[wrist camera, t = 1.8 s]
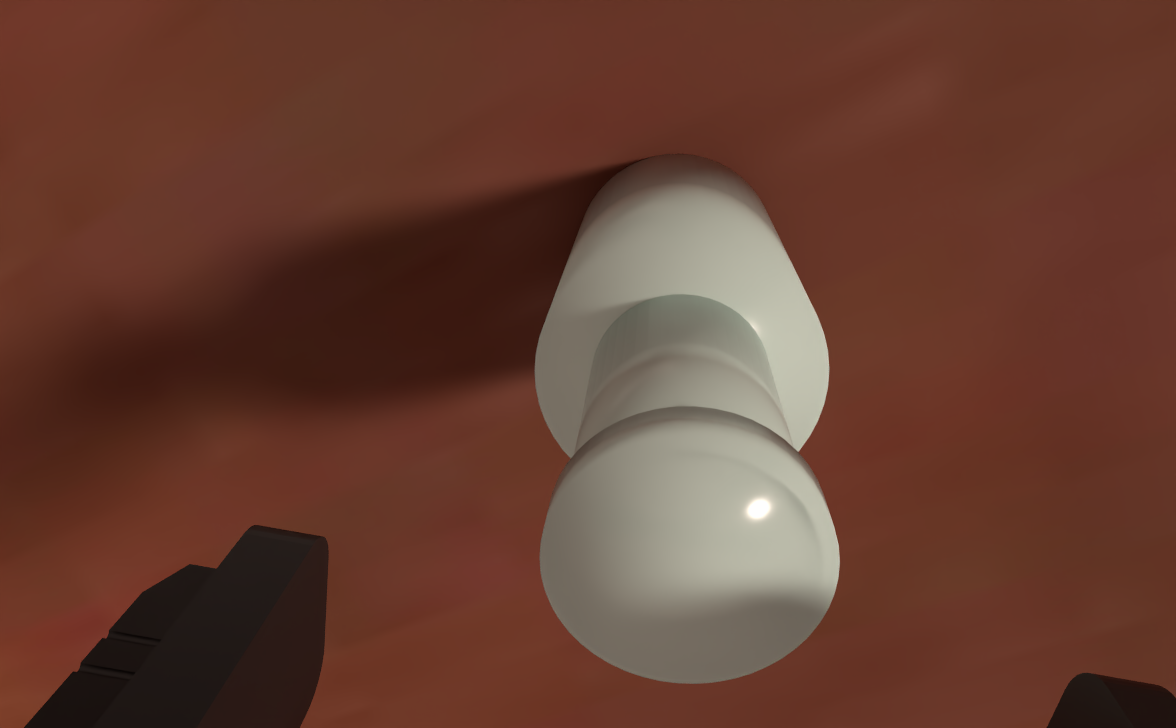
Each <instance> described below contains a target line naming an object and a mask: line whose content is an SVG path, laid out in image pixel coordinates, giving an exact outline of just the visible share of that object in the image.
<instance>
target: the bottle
mask: <svg viewBox="0 0 1176 728" xmlns="http://www.w3.org/2000/svg"><path fill="white" fill-rule="evenodd" d="M828 379H829V359H828V349H827V345H826V340H825V336H824V332H823V330H822V327H821V324H820V322H819V319H818V317H817V315H816V312H815V310H814V308H813V306H812V304H811V302H810V300H809V298H808V296H807V294H806V292H805V290H804V288H803V286H802V284H801V282H800V279H799V277H798V275H797V273H796V271H795V269H794V267H793V265H792V263H791V261H790V259H789V257H788V255H787V253H786V251H785V249H784V247H783V244H782V242H781V240H780V238H779V236H778V234H777V232H776V230H775V228H774V226H773V224H772V222H771V220H770V218H769V216H768V214H767V211H766V209H765V207H764V206H763V204H762V202H761V200H760V199H759V197H758V195H757V194H756V193H755V192H754V190H753V189H752V188H751V186H750V185H749V184H748V183H747V182H746V181H745V180H744V179H743V178H742V177H740V176H739V175H738V174H736V173H735V172H734V171H732V170H731V169H729V168H727V167H726V166H724V165H722V164H720V163H718V162H715V161H713V160H710V159H708V158H704V157H700V156H695V155H688V154H666V155H660V156H654V157H650V158H647V159H644V160H641V161H639V162H636V163H634V164H632V165H630V166H628V167H626V168H625V169H623V170H622V171H620V172H618V173H617V174H616V175H615V176H613V177H612V178H611V179H610V180H609V181H607V183H606V184H605V185H604V186H603V187H602V188H601V189H600V190H599V191H598V193H597V194H596V196H595V197H594V198H593V200H592V201H591V203H590V205H589V207H588V209H587V211H586V213H585V215H584V218H583V221H582V223H581V226H580V229H579V231H578V234H577V237H576V240H575V242H574V245H573V248H572V250H571V253H570V256H569V258H568V261H567V264H566V266H565V269H564V272H563V274H562V277H561V280H560V283H559V285H558V288H557V291H556V293H555V296H554V299H553V301H552V304H551V307H550V309H549V312H548V315H547V317H546V320H545V323H544V326H543V328H542V331H541V334H540V336H539V341H538V346H537V350H536V358H535V383H536V391H537V396H538V400H539V405H540V408H541V410H542V413H543V416H544V419H545V421H546V423H547V425H548V427H549V429H550V431H551V433H552V435H553V436H554V438H555V439H556V441H557V442H558V443H559V445H560V446H561V448H562V449H563V450H564V452H565V453H566V454H567V455H568V456H569V457H570V458H571V459H570V460H569V462H568V463H567V464H566V466H565V467H564V469H563V471H562V472H561V474H560V476H559V477H558V480H557V482H556V485H555V487H554V490H553V492H552V496H551V500H550V504H549V508H548V513H547V517H546V521H545V526H544V530H543V535H542V539H541V547H540V569H541V576H542V581H543V585H544V589H545V592H546V594H547V597H548V599H549V602H550V604H551V606H552V608H553V609H554V611H555V613H556V615H557V616H558V618H559V620H560V621H561V622H562V623H563V625H564V626H565V627H566V629H567V630H568V631H569V632H570V633H571V634H572V635H573V636H574V637H575V638H576V639H577V640H578V641H579V642H580V643H581V644H582V645H583V646H584V647H586V648H587V649H588V650H590V651H591V652H592V653H593V654H595V655H596V656H598V657H600V658H601V659H603V660H605V661H606V662H608V663H610V664H612V665H614V666H616V667H618V668H620V669H622V670H624V671H627V672H630V673H633V674H636V675H639V676H642V677H646V678H650V679H654V680H658V681H665V682H673V683H693V684H698V683H711V682H719V681H724V680H730V679H734V678H738V677H741V676H744V675H748V674H751V673H753V672H756V671H758V670H760V669H763V668H765V667H767V666H769V665H771V664H773V663H775V662H776V661H778V660H780V659H782V658H783V657H785V656H786V655H787V654H789V653H790V652H792V651H793V650H794V649H796V648H797V647H798V646H799V645H800V644H801V643H802V642H803V641H804V640H805V639H806V638H808V637H809V635H810V634H811V633H812V632H813V631H814V629H815V628H816V627H817V626H818V624H819V623H820V622H821V620H822V618H823V617H824V615H825V613H826V612H827V610H828V608H829V606H830V603H831V601H832V598H833V596H834V594H835V590H836V586H837V581H838V577H839V565H840V558H839V545H838V541H837V537H836V532H835V528H834V525H833V522H832V519H831V516H830V513H829V510H828V507H827V504H826V500H825V497H824V494H823V492H822V489H821V487H820V485H819V482H818V480H817V478H816V476H815V475H814V473H813V471H812V470H811V468H810V466H809V465H808V463H807V462H806V461H805V460H804V459H803V457H802V456H801V455H800V454H799V453H798V451H799V450H800V449H801V447H802V446H803V445H804V443H805V442H806V440H807V439H808V438H809V436H810V435H811V433H812V431H813V429H814V427H815V425H816V423H817V422H818V419H819V417H820V414H821V411H822V408H823V406H824V403H825V398H826V393H827V389H828Z"/></svg>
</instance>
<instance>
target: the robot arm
mask: <svg viewBox="0 0 1176 728" xmlns="http://www.w3.org/2000/svg"><path fill="white" fill-rule="evenodd" d="M327 577H328V543H327V540H326V538H325V537H322V536H316V535H311V534H305V533H299V532H294V531H288V530H282V529H276V528H271V527H265V526H259V525H254V526H252V527H250V528H249V529H248V530H247V531H246V532H245V533H244V534H243V536H242V537H241V538H240V540H239V541H238V542H237V543H236V545H235V546H234V547H233V549H232V550H231V551H230V552H229V554H228V555H227V556H226V558H225V559H224V560H223V561H222V563H221V564H220V565H219V566H218V568H217V569H215V568H209V567H203V566H198V565H192V564H189V565H188V566H186V567H184V568H183V569H181V570H179V571H178V572H176V573H174V574H173V575H171V576H169V577H168V578H166V579H164V580H162V581H161V582H159V583H157V584H156V585H154V586H152V587H151V588H149V589H147V590H146V591H144V592H142V593H141V595H140V596H139V597H138V598H137V599H136V600H135V601H134V603H133V604H132V605H131V606H130V607H129V608H128V609H127V611H126V612H125V613H124V614H123V615H122V616H121V617H120V619H119V620H118V621H117V622H116V623H115V624H114V625H113V627H112V628H111V629H110V630H109V634H108V637H107V638H106V639H105V638H102V639H101V640H100V641H99V643H98V644H97V645H96V646H95V647H94V648H93V649H92V651H91V652H90V653H89V654H88V655H87V656H86V657H85V659H84V660H83V661H82V662H81V665H80V668H79V670H78V672H74V671H73V672H72V673H71V674H70V676H69V677H68V678H67V679H66V680H65V681H64V682H63V684H62V685H61V686H60V687H59V688H58V689H57V690H56V692H55V693H54V694H53V695H52V696H51V697H50V698H49V700H48V701H47V702H46V703H45V704H44V705H43V706H42V708H41V709H40V710H39V711H38V712H37V713H36V714H35V716H34V717H33V718H32V719H31V720H30V721H29V722H28V724H27V725H26V726H25V727H24V728H300V726H301V724H302V722H303V720H304V718H305V716H306V713H307V711H308V709H309V707H310V704H311V702H312V699H313V696H314V693H315V690H316V687H317V684H318V680H319V676H320V672H321V667H322V662H323V655H324V642H325V621H326V599H327ZM1047 728H1176V698H1175V697H1174V696H1173V694H1172V693H1170V692H1169V691H1168V690H1167V689H1165V688H1163V687H1161V686H1158V685H1154V684H1148V683H1143V682H1137V681H1131V680H1126V679H1120V678H1114V677H1108V676H1103V675H1097V674H1091V673H1082V674H1079V675H1077V676H1076V677H1074V678H1073V679H1072V680H1071V681H1070V683H1069V684H1068V686H1067V687H1066V689H1065V691H1064V693H1063V695H1062V697H1061V699H1060V702H1059V704H1058V706H1057V708H1056V710H1055V712H1054V714H1053V716H1052V718H1051V720H1050V722H1049V724H1048V726H1047Z"/></svg>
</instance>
